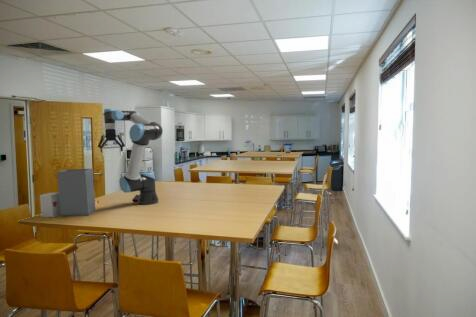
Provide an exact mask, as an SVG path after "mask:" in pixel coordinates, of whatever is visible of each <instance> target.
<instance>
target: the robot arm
mask: <svg viewBox="0 0 476 317" xmlns="http://www.w3.org/2000/svg"><path fill="white" fill-rule="evenodd" d="M103 116H104V129H105V131H104V132H105V135H104V134H103V135H101V136H100V140H99V143H98V145H97V147H98V148H99V150H100V153H101V156H102V157H105V148H104V147H105V145H106V144H107V142H115V143H116V144H117V145H118V146H119V156H123V151H124V147H126V145H125V142H124V141H123V139H122V138H121V134H117V133H116V132H117V130H116V121H119V122H120V121H121V122H123V121H126V122H127V121H129V122H132V123H133V125H131V127H130V129H129V132H128V133H129V138H130V140H131V143H132V148H131V151H130V152H131V153H130V156H129V160H128V162H129V163H128V167H127V171H125V172H124V174H123V176H121V177H120V178H119V187H120V190H121V191H122V192H123V193H127V194H128V193H132V192H138V191H139V197H138V199H137V204H138V205H145V206H146V205H154V204H158V203H159V197H158V194H157V192H156V178H155V177H156V176H155V174H154V173H152V172H141V168H142V163H143V159H144V155H145V150H146V147H147V146H148V145H149V142H151V141H157V140H158V139H160V138H161V137H162V135H163V133H164V132H163V127H162V126H161V125H160V124H159V123H158V122H155V121H151V120H150V119H147V118H146V117H143V116H142V115H140V113H139V111H137V110H120V109H119V110H118V109H113V108H104V110H103ZM117 138H118V139H117ZM118 140H119V141H118Z"/></svg>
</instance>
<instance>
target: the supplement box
mask: <svg viewBox="0 0 476 317" xmlns="http://www.w3.org/2000/svg"><path fill="white" fill-rule="evenodd" d="M39 201H40V216H41V218H54V217H57V216H61V215H60V203H59V192H48V193H44V194H40V195H39Z"/></svg>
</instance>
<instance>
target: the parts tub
mask: <svg viewBox="0 0 476 317" xmlns="http://www.w3.org/2000/svg"><path fill="white" fill-rule="evenodd" d="M56 175H57V176H56V177H57V188H58V193H59V203H60V215H59V216H60V217H63V218H64V217H79V216H80V217H81V216H82V217H83V216H90V215H91V214H93V213H94V212H96V205H95V200H96V199H95V196H96V195H95V186H94V184H95V183H94V172H93V168H75V169H73V168H71V169H64V170H58V171H56ZM89 214H90V215H89Z"/></svg>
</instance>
